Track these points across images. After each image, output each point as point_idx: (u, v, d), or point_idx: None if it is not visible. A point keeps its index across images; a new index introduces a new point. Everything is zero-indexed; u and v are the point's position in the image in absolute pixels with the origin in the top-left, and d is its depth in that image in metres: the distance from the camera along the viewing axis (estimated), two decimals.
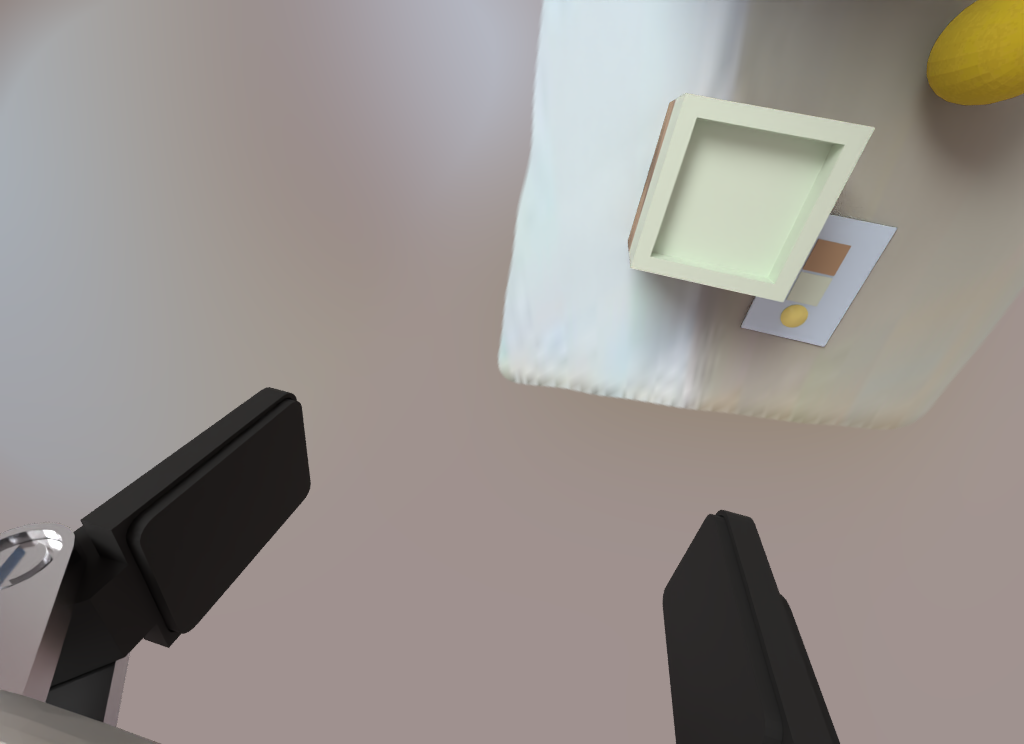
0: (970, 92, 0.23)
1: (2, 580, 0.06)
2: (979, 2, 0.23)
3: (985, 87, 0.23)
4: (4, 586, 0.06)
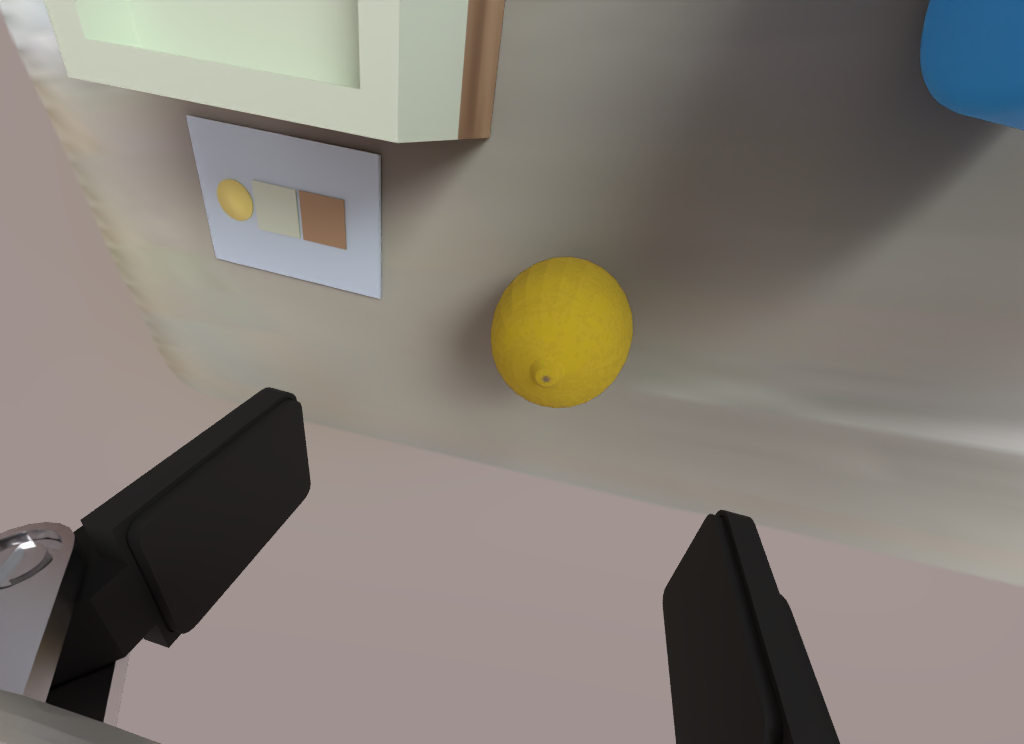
0: (499, 306, 0.16)
1: (1, 581, 0.06)
2: (614, 285, 0.16)
3: (498, 318, 0.15)
4: (4, 586, 0.06)
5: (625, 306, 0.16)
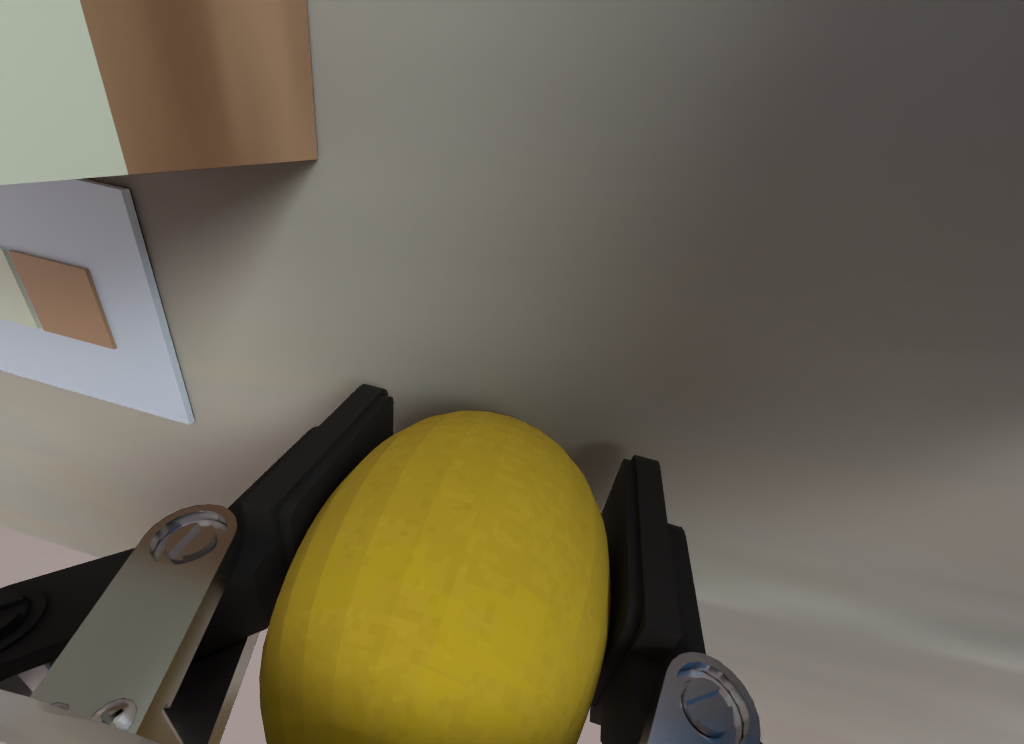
0: None
1: (179, 552, 0.06)
2: (564, 521, 0.06)
3: (270, 623, 0.06)
4: (178, 560, 0.06)
5: (590, 577, 0.06)
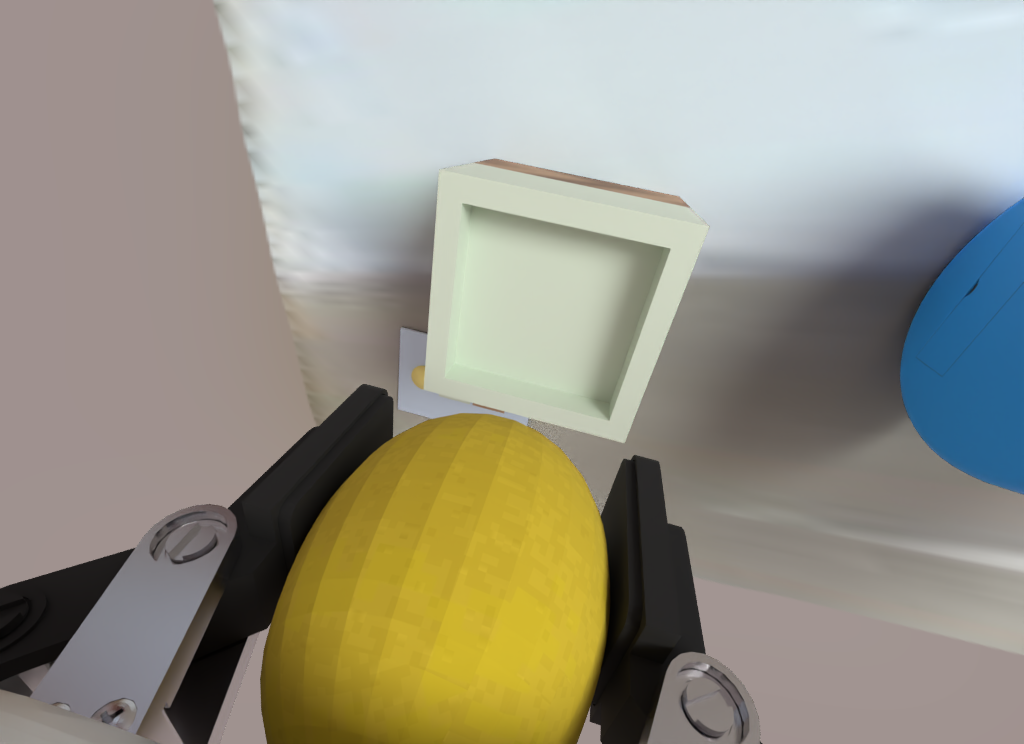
0: (290, 572, 0.07)
1: (179, 551, 0.06)
2: (563, 524, 0.07)
3: (271, 626, 0.06)
4: (178, 560, 0.06)
5: (589, 579, 0.06)
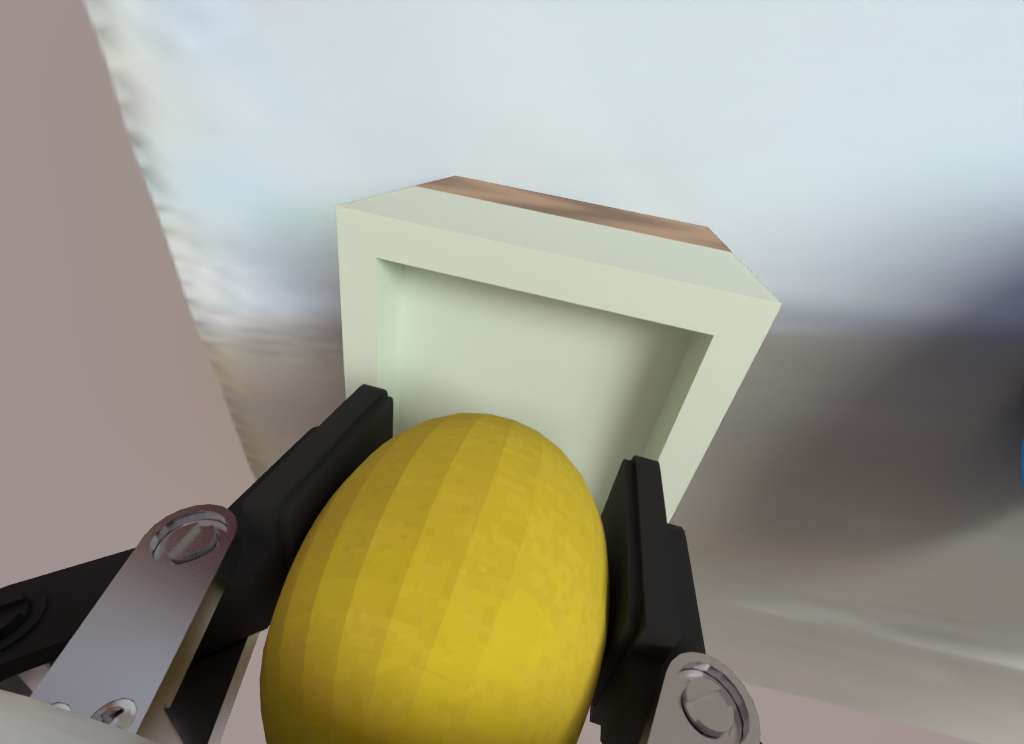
0: None
1: (179, 551, 0.06)
2: (563, 524, 0.07)
3: (270, 626, 0.06)
4: (178, 560, 0.06)
5: (589, 579, 0.06)
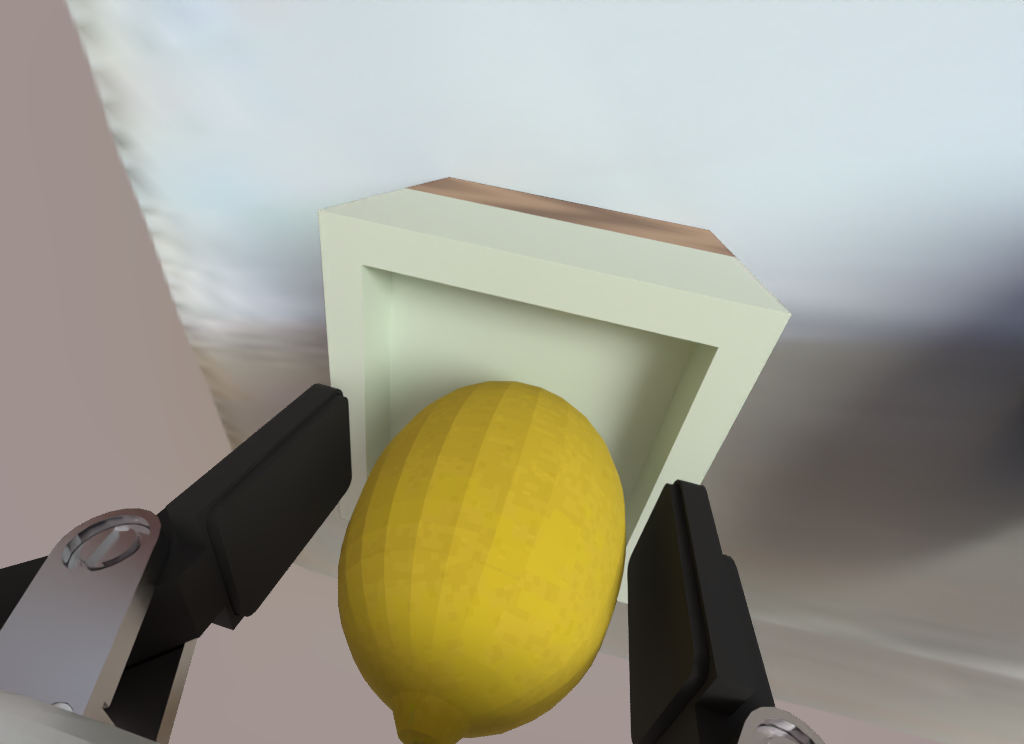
0: (356, 506, 0.08)
1: (97, 560, 0.06)
2: (588, 465, 0.08)
3: (344, 546, 0.07)
4: (97, 567, 0.06)
5: (611, 511, 0.08)
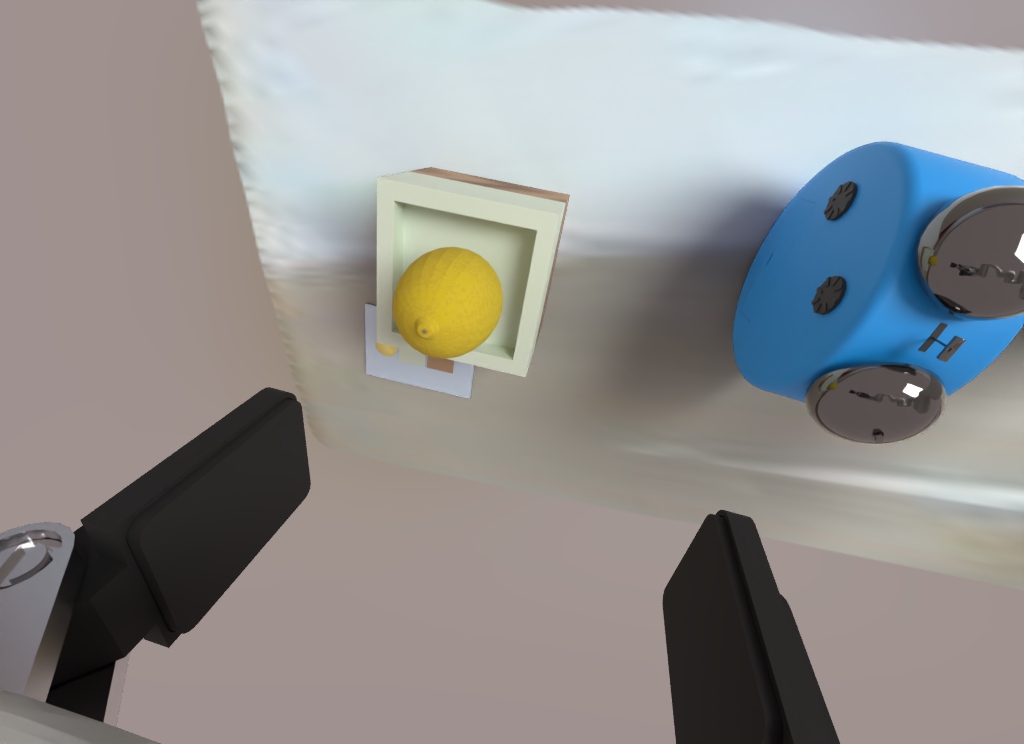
0: None
1: (2, 581, 0.06)
2: (482, 266, 0.21)
3: (395, 291, 0.21)
4: (4, 586, 0.06)
5: (490, 281, 0.21)
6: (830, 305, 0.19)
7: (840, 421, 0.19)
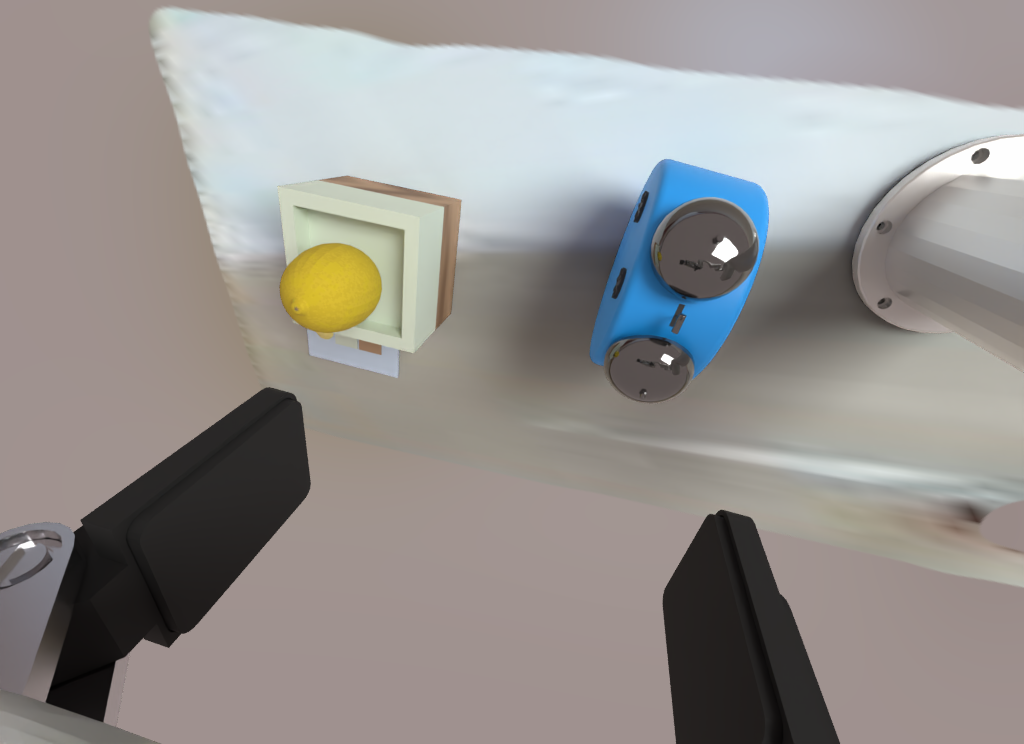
0: None
1: (2, 580, 0.06)
2: (353, 258, 0.27)
3: None
4: (4, 586, 0.06)
5: (358, 271, 0.26)
6: (616, 291, 0.24)
7: (618, 383, 0.24)
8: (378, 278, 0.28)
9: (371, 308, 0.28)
